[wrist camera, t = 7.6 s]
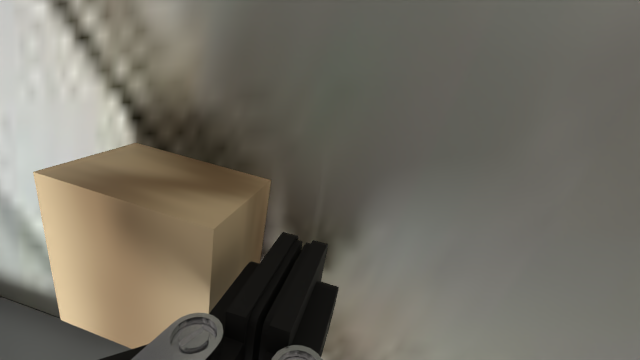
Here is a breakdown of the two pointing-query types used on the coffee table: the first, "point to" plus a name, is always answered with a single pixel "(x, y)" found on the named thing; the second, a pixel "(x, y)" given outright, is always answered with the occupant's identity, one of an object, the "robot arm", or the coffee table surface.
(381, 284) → the coffee table surface
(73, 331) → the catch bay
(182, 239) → the wooden block
